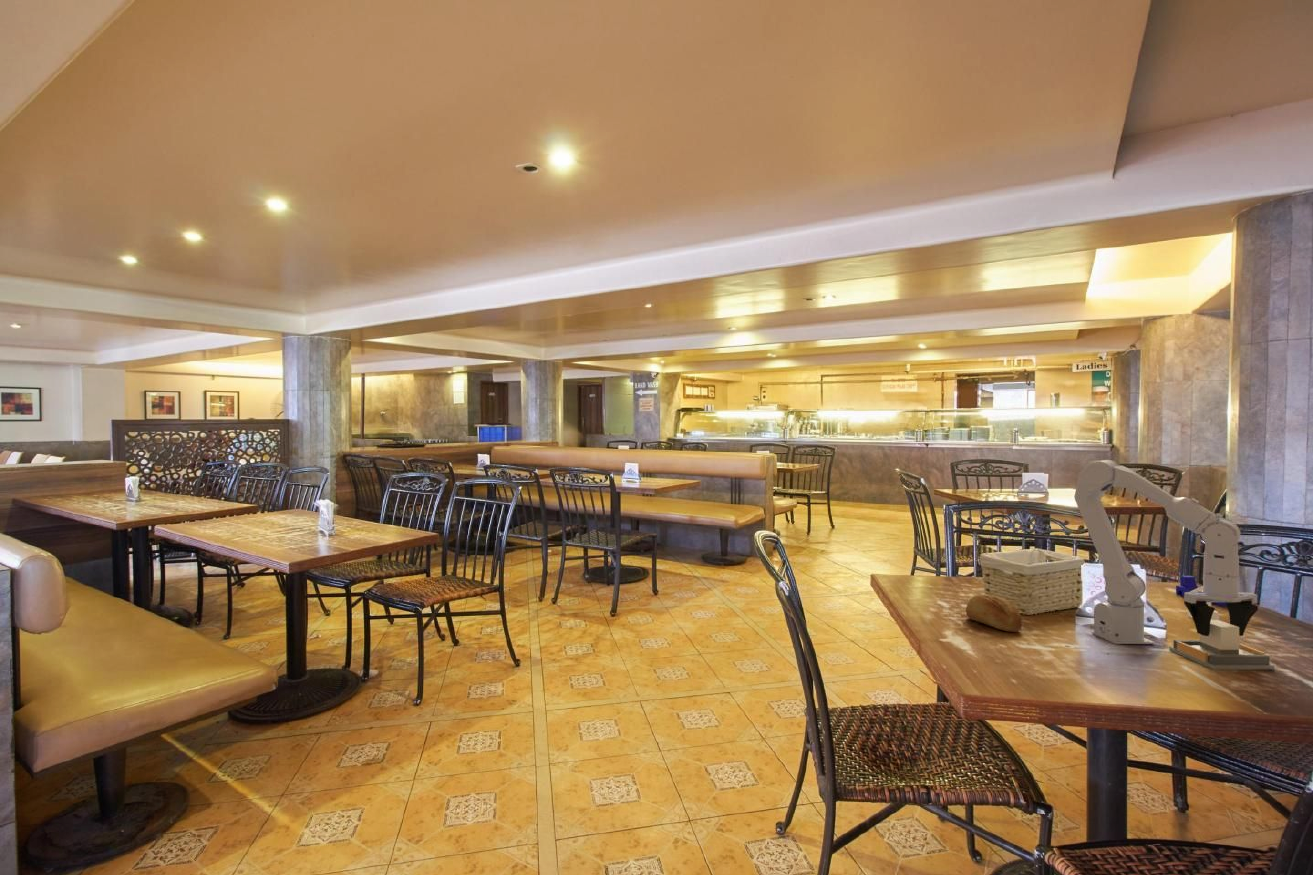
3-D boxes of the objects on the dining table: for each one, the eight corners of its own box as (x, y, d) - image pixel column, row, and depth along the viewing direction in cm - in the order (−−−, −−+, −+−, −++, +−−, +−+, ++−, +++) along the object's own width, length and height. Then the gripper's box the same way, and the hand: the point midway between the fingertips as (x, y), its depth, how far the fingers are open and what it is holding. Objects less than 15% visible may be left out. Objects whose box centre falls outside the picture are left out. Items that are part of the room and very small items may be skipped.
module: (1220, 654, 131) (1221, 627, 131) (1199, 645, 136) (1200, 619, 136) (1238, 654, 131) (1239, 627, 131) (1217, 645, 136) (1217, 619, 136)
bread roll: (1004, 637, 148) (1004, 605, 147) (955, 619, 162) (955, 590, 161) (1032, 633, 151) (1032, 601, 151) (981, 615, 165) (981, 586, 165)
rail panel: (1213, 669, 128) (1213, 656, 128) (1169, 650, 139) (1169, 638, 139) (1274, 669, 128) (1274, 656, 128) (1225, 649, 139) (1225, 638, 139)
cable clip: (1175, 595, 184) (1176, 575, 184) (1190, 594, 184) (1190, 575, 184) (1213, 606, 172) (1213, 586, 172) (1228, 606, 172) (1228, 586, 172)
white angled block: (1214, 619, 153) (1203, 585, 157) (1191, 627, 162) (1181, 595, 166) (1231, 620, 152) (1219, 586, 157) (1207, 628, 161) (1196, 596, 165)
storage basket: (1026, 618, 162) (1026, 564, 162) (976, 601, 178) (977, 552, 178) (1088, 609, 170) (1088, 557, 170) (1035, 594, 186) (1035, 547, 185)
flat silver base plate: (1207, 659, 130) (1207, 655, 130) (1183, 649, 136) (1183, 645, 136) (1257, 659, 130) (1257, 655, 130) (1231, 649, 136) (1231, 645, 136)
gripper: (1204, 578, 129) (1203, 640, 129) (1271, 578, 129) (1270, 640, 129) (1176, 570, 136) (1175, 629, 136) (1239, 570, 136) (1239, 629, 136)
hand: (1219, 634), depth 133 cm, fingers open, 7 cm apart
